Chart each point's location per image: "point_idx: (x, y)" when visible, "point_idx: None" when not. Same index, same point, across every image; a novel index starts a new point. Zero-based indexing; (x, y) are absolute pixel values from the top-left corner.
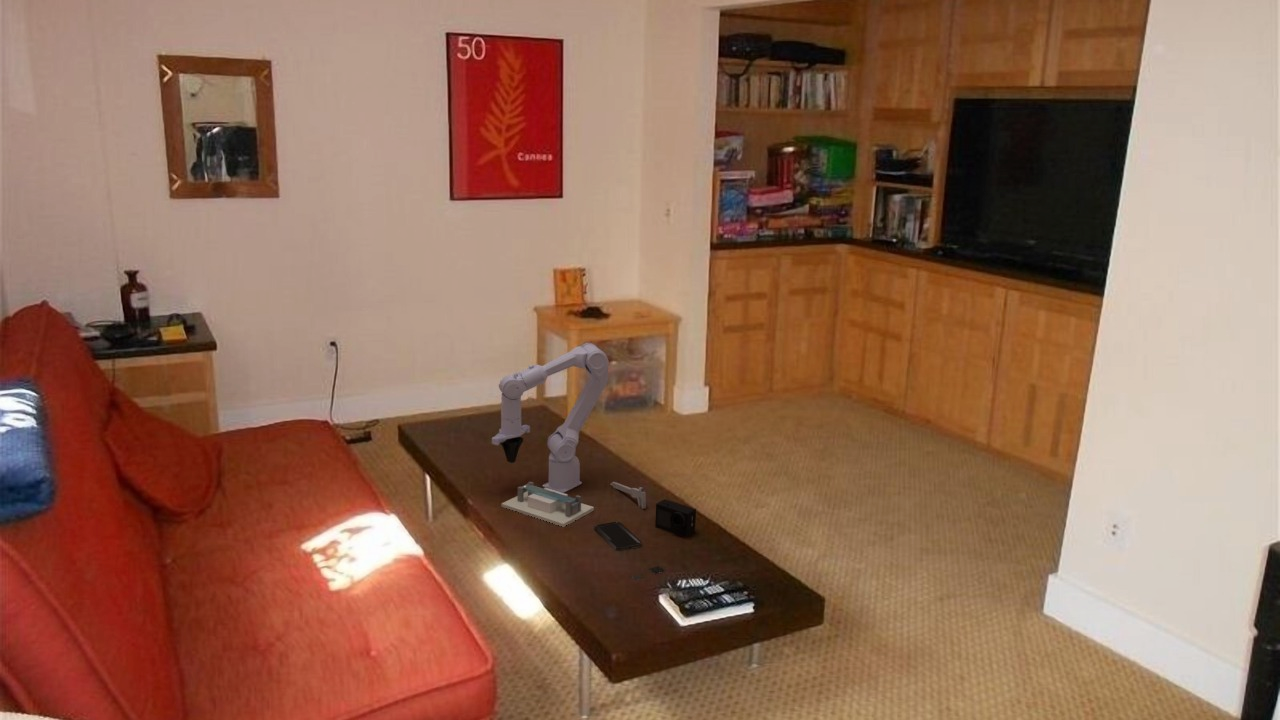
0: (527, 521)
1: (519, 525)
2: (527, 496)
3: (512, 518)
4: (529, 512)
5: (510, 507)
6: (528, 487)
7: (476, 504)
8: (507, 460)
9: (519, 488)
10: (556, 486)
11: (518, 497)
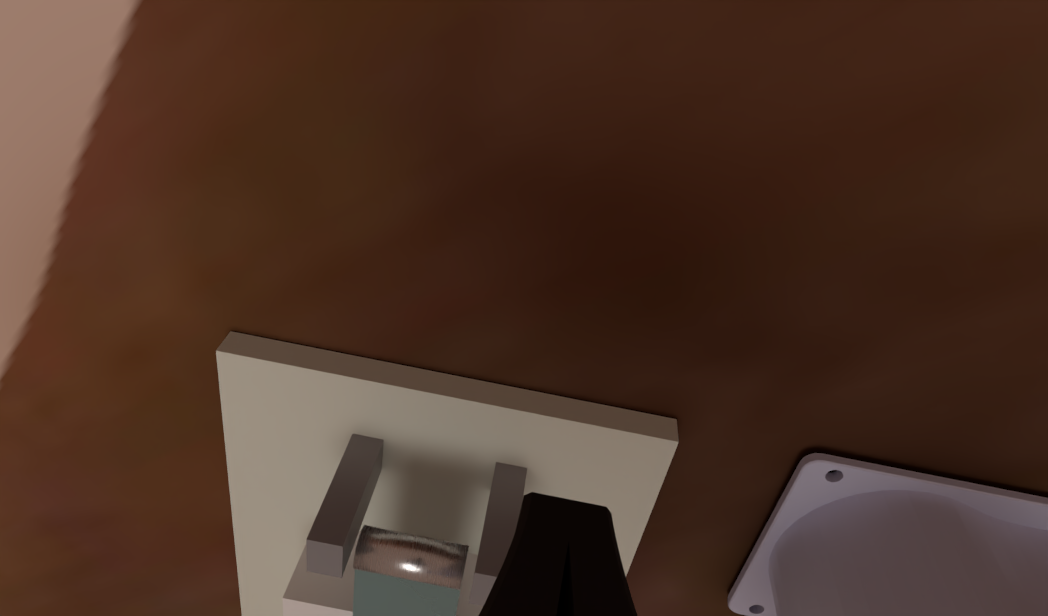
0: (178, 552)
1: (97, 535)
2: (480, 464)
3: (138, 470)
4: (239, 561)
5: (227, 424)
6: (387, 596)
7: (101, 99)
8: (522, 513)
9: (309, 551)
10: (772, 585)
11: (341, 467)
